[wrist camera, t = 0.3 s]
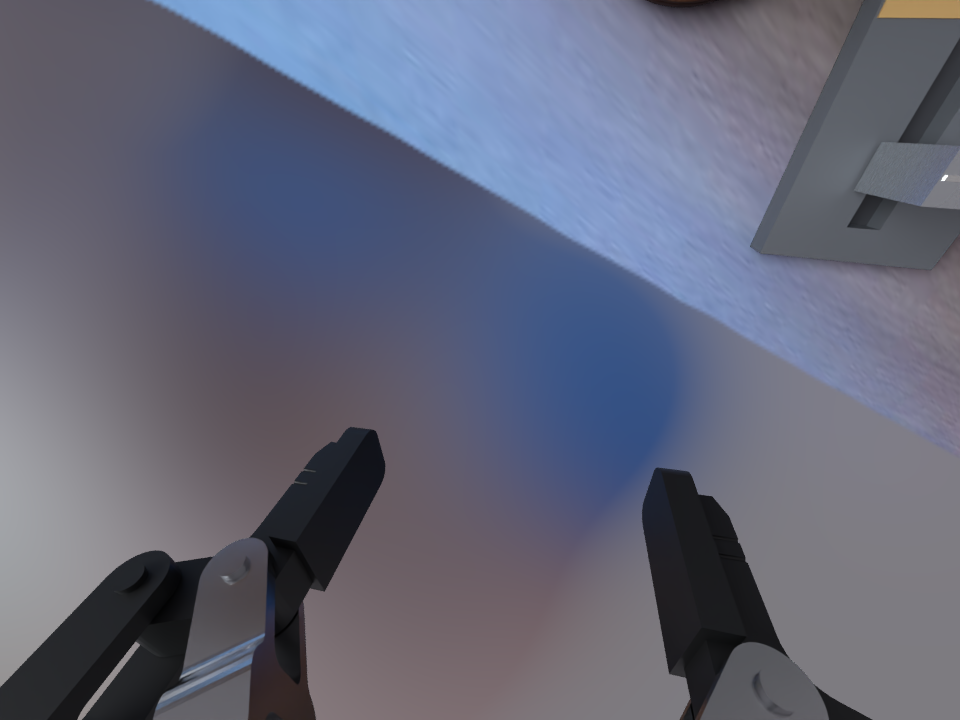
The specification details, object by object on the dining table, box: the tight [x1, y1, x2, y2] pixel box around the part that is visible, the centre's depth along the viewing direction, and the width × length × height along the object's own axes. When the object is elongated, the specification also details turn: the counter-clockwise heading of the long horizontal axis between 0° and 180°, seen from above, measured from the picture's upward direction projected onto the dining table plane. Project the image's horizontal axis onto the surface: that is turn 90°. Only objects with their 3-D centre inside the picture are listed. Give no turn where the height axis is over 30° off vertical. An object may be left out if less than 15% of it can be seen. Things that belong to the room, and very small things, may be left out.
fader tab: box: [854, 142, 960, 209], centre depth 22 cm, size 3×4×8 cm
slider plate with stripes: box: [750, 0, 960, 270], centre depth 23 cm, size 22×12×2 cm, turn 177°
